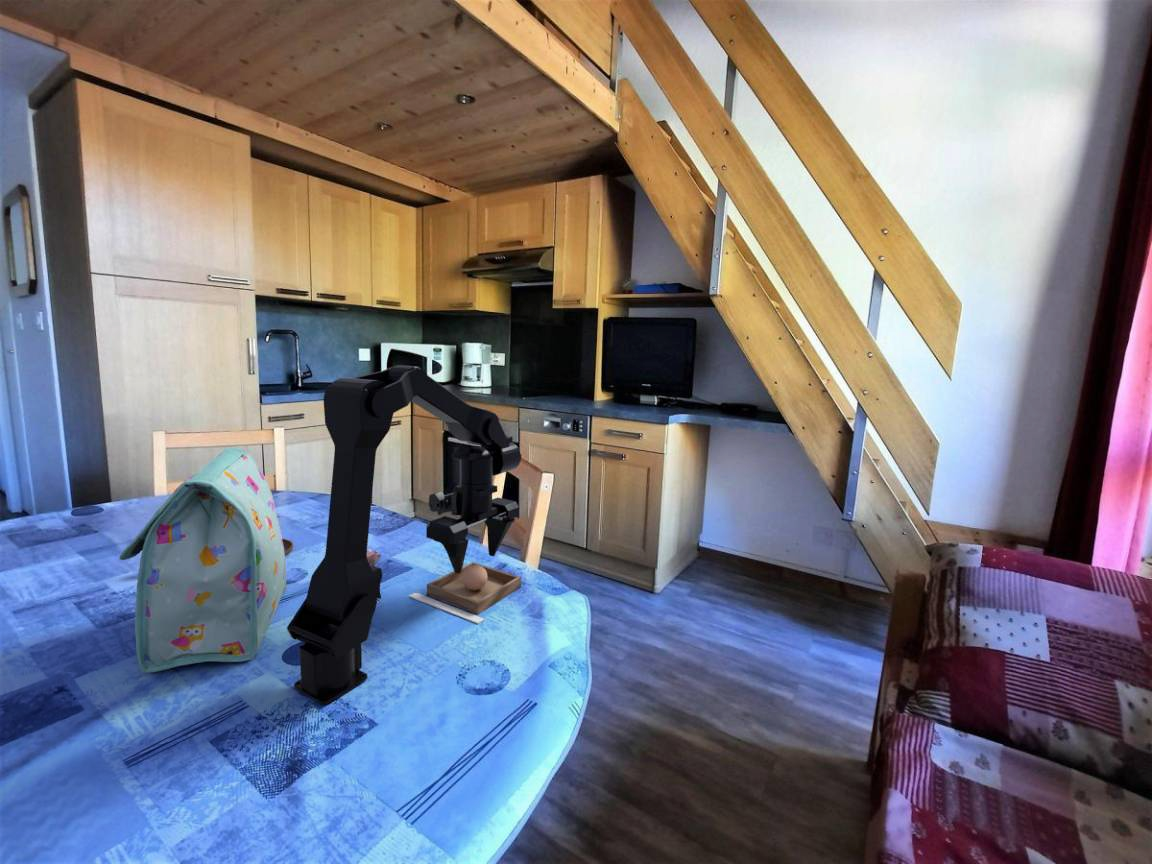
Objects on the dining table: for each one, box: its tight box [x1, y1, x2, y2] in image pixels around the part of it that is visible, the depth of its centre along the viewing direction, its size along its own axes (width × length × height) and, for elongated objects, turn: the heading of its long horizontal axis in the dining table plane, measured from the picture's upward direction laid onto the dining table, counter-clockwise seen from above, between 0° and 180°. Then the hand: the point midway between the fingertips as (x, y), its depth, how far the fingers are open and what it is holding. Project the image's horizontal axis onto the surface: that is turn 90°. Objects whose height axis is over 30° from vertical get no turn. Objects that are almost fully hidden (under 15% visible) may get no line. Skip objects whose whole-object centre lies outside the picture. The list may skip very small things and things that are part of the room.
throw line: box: [408, 592, 485, 625], centre depth 86 cm, size 2×16×1 cm, turn 60°
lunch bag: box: [118, 446, 287, 673], centre depth 75 cm, size 23×16×27 cm
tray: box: [426, 561, 522, 615], centre depth 92 cm, size 12×12×2 cm
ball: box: [462, 565, 487, 590], centre depth 92 cm, size 4×4×4 cm
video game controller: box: [367, 548, 382, 567], centre depth 94 cm, size 10×5×7 cm, turn 169°
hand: (475, 563), depth 92 cm, fingers open, 9 cm apart
